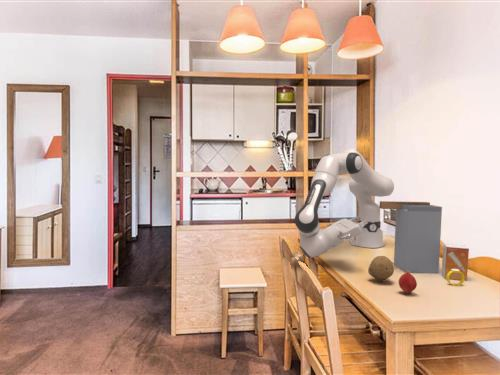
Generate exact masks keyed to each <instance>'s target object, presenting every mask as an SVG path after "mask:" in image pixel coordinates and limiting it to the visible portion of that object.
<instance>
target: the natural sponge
mask: <svg viewBox="0 0 500 375" xmlns="http://www.w3.org/2000/svg"><path fill="white" fill-rule="evenodd" d="M367 270H368V275H369V276H371V277H373V278H374V279H375V280H376V281H378V282H384V281H386V280H388V279H389V278H391V277H392V276H393V275H394V272H395V266H394V262H393V261H391V259H390V257H387V256H385V255H378V256H375V257H373V259H372V260H371V262H370V263H369V266H368V268H367Z"/></svg>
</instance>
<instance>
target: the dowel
mask: <svg viewBox="0 0 500 375" xmlns="http://www.w3.org/2000/svg"><path fill="white" fill-rule="evenodd" d="M402 205H431V202H430V201H387V200H386V201H381V200H380V201H379V208H380V210H396V209H402Z"/></svg>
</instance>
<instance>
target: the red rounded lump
mask: <svg viewBox="0 0 500 375" xmlns="http://www.w3.org/2000/svg"><path fill="white" fill-rule="evenodd" d="M398 285H399V288H400V290H402V291H403V292H404V293H405V294H410V293H412V292H413V291H415V290H416V289H417V285H418V282H417V280H416V278H415V276H414V275H412V273H410V272H409V271H407V273H405V272H404V273H403V274H402V275H401V276H400V277H399V279H398Z"/></svg>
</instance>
